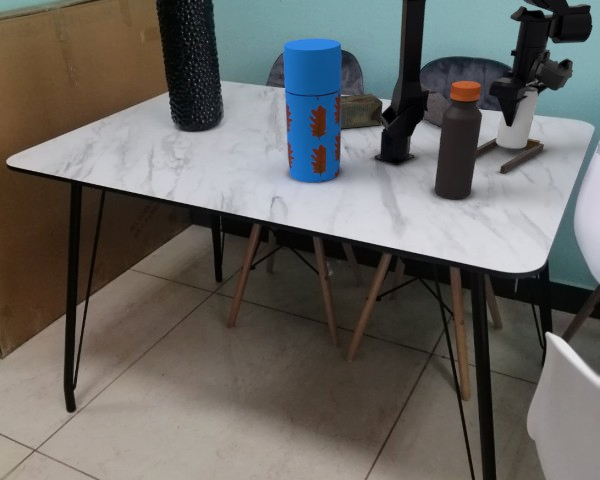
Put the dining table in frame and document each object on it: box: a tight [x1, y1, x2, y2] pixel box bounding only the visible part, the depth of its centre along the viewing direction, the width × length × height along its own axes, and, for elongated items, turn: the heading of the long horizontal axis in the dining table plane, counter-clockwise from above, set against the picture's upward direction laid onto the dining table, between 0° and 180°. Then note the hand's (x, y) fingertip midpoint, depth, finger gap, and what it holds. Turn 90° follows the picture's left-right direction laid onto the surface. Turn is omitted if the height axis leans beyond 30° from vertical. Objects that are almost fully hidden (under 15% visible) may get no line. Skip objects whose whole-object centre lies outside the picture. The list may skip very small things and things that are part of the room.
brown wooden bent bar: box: [476, 137, 545, 175], centre depth 123 cm, size 17×10×2 cm, turn 135°
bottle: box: [434, 80, 483, 200], centre depth 104 cm, size 7×7×20 cm
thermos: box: [282, 38, 343, 183], centre depth 113 cm, size 11×11×25 cm
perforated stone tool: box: [423, 87, 451, 128], centre depth 142 cm, size 15×5×7 cm, turn 14°
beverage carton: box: [341, 92, 384, 129], centre depth 143 cm, size 8×19×7 cm, turn 102°
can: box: [495, 86, 539, 150], centre depth 122 cm, size 6×6×12 cm
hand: (516, 122), depth 122 cm, fingers closed on can, 6 cm apart
